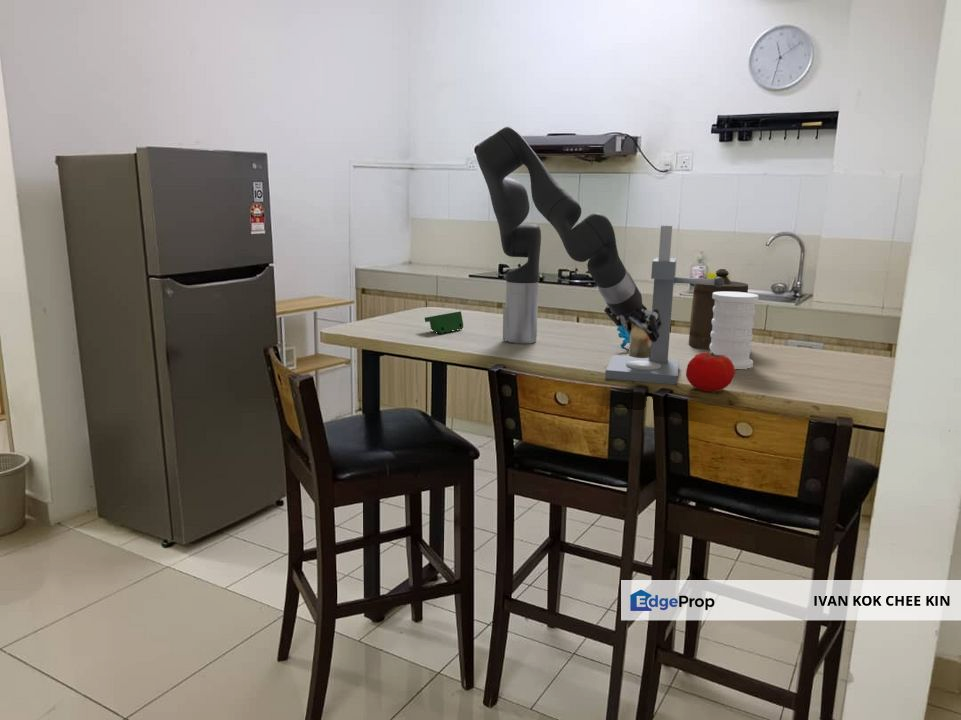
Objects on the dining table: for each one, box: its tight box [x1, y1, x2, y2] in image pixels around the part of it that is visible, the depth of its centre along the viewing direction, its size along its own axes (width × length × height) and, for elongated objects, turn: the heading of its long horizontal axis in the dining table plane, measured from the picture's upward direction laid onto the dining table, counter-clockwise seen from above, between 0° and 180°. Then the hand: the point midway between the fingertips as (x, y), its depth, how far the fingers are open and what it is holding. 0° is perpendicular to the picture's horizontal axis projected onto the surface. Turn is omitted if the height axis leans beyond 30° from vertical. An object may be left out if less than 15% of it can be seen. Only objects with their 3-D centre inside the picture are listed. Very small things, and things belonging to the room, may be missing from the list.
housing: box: [628, 318, 652, 358], centre depth 169 cm, size 5×5×10 cm
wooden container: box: [688, 268, 749, 351], centre depth 206 cm, size 15×15×22 cm
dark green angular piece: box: [424, 310, 464, 334], centre depth 223 cm, size 12×6×9 cm, turn 136°
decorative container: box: [709, 291, 759, 370], centre depth 183 cm, size 12×12×18 cm
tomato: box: [685, 351, 736, 393], centre depth 159 cm, size 9×10×8 cm
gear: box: [616, 325, 630, 348], centre depth 203 cm, size 11×6×10 cm
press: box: [604, 224, 724, 385], centre depth 169 cm, size 25×17×35 cm
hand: (645, 337), depth 171 cm, fingers closed on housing, 5 cm apart
